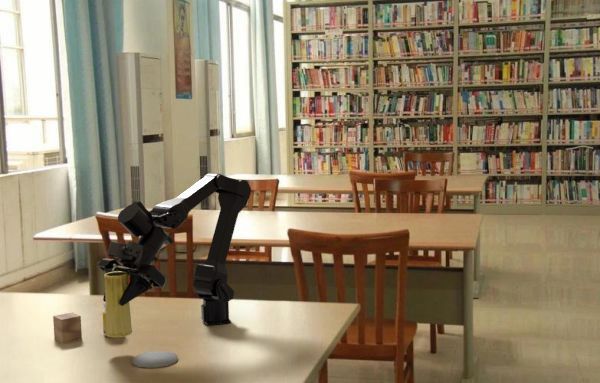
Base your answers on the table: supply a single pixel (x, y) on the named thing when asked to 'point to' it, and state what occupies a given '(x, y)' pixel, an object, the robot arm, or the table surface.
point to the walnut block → (67, 327)
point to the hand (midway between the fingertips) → (112, 303)
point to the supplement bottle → (104, 319)
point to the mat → (155, 359)
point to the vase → (116, 305)
